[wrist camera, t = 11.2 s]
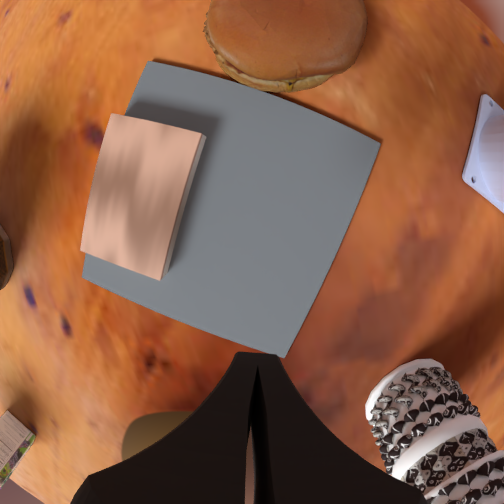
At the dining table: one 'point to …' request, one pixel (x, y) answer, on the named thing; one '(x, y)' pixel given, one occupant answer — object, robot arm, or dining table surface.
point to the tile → (140, 193)
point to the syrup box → (12, 444)
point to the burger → (285, 40)
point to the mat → (247, 208)
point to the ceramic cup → (5, 258)
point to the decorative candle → (435, 436)
